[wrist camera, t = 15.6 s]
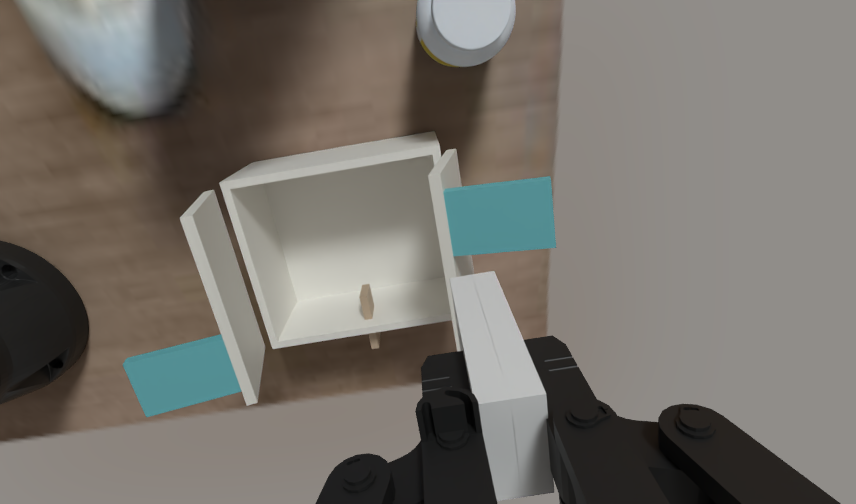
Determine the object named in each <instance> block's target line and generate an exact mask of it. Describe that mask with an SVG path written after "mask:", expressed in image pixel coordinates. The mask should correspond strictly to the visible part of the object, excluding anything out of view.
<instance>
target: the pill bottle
mask: <svg viewBox="0 0 856 504" xmlns="http://www.w3.org/2000/svg"><path fill="white" fill-rule="evenodd" d="M515 13H516V7H515V0H418V1H417V7H416V30H417V35H418V38H419V41H420V44H421V46H422V47H423V49H424V50H425V52H426V53H427V54H428V55H429V56H430V57H431V58H432V59H433V60H435V61H436V62H438V63H440V64H442V65H445V66H449V67H470V66H475V65H478V64H481V63H484V62H486V61H487V60H489V59H491V58H492V57H494V56H495V55H496V54H497V53H498V52H499V51H500V50H501V49H502V48H503V46H504V45H505V44H506V42H507V41H508V39H509V37H510V35H511V32H512V29H513V26H514V22H515Z"/></svg>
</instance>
